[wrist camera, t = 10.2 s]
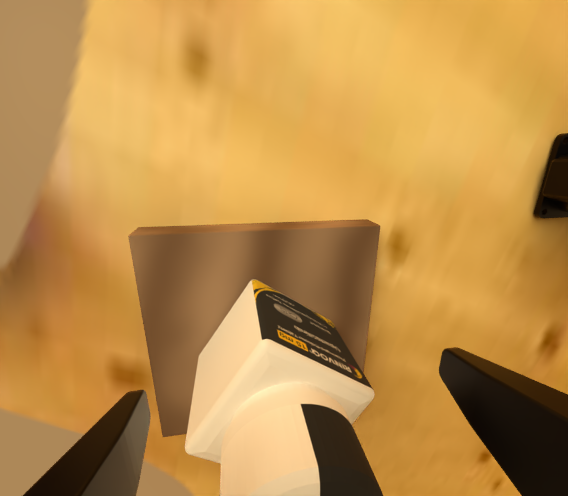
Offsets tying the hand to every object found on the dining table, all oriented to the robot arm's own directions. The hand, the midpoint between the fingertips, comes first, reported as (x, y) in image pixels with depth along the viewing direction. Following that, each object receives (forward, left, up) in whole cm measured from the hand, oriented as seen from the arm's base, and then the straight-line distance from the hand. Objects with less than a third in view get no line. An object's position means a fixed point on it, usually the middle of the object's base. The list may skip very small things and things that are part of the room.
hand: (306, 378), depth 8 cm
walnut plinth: (0, +6, -13) cm, 14 cm away
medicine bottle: (0, +6, -11) cm, 13 cm away
